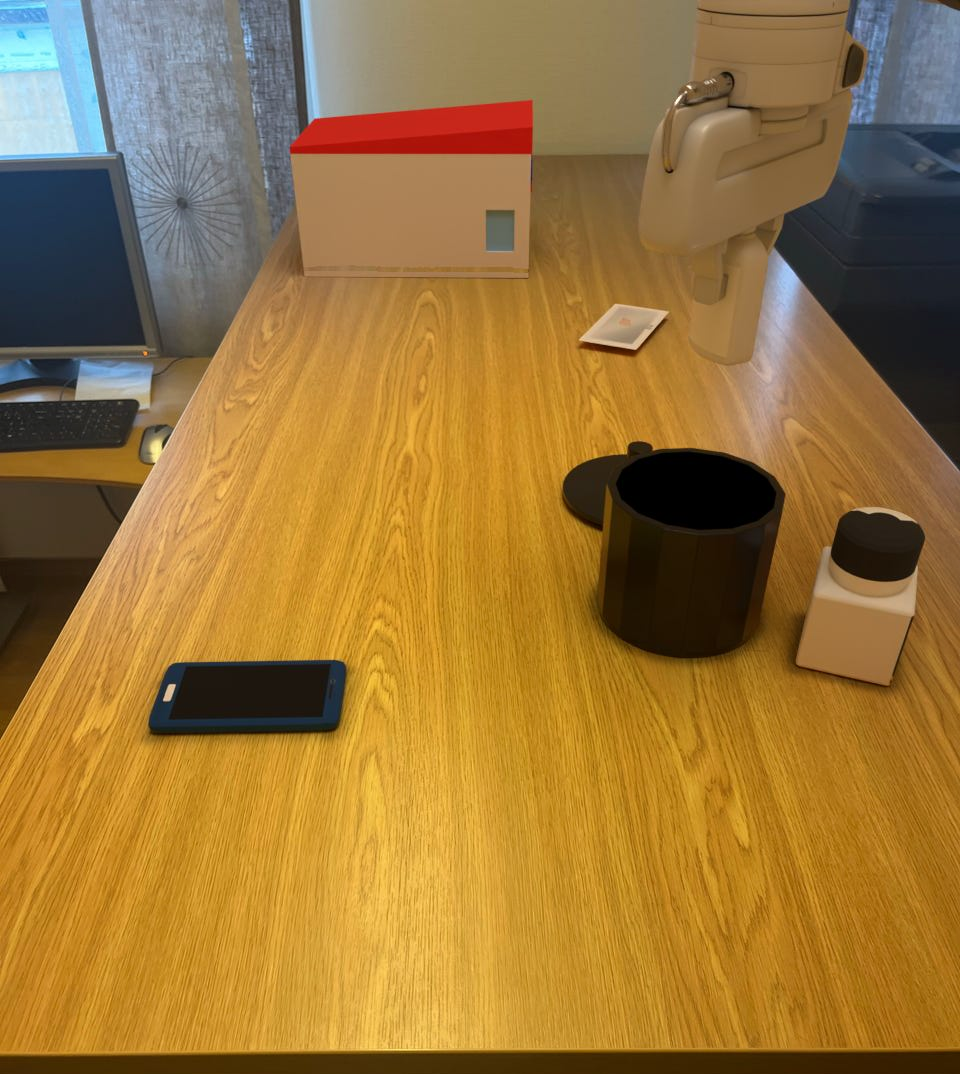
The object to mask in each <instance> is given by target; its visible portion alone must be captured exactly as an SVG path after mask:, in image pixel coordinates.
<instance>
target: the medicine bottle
mask: <svg viewBox="0 0 960 1074" xmlns="http://www.w3.org/2000/svg"><path fill="white" fill-rule="evenodd" d="M925 541H926V533H925V531H924V530H923V528H922V526H921V525H920V523H918V522H917V521H916V519H914V518H912V517H911V516H910V515H907V514H905V513H902V512H900V511H897V510H894V509H890V508H885V507H878V506H863V507H858V508H854V509H850V510H849V511H847V512H846V513H845V514H843V515H841V516H840V517H839V519H838V522H837V526H836V529H835V534H834V537H833V541H832V545H831V546H830V545H829V546H828V545H826V546H823V548H822V550H821V553H820V557H819V561H818V565H817V569H816V573H815V576H814V582H813V585H812V589H811V593H810V597H809V601H808V604H807V608H806V613H805V617H804V621H803V626H802V630H801V636H800V639H799V644H798V647H797V653H796V657H795V664H796V665H797V666H798V667H800V668H801V667H802V668H806V669H811V670H815V671H819V672H822V673H829V674H832V675H837V676H841V677H846V678H851V679H855V680H859V681H863V682H868V683H873V684H875V685H876V684H877V685H882V686H890V685H891V684H892V683H893V679H894V677H895V674H896V670H897V668H898V666H899V662H900V659H901V657H902V656H901V655H902V653H903V650H904V648H905V644H906V641H907V639H908V636H909V632H910V629H911V626H912V623H913V620H914V618H915V615H916V602H917V601H916V600H917V589H918V588H917V587H918V574H919V565H918V562H919V560H920V556H921V554H922V550H923V547H924V546H925V545H924V544H925Z"/></svg>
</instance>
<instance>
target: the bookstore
mask: <svg viewBox="0 0 960 1074" xmlns="http://www.w3.org/2000/svg"><path fill="white" fill-rule="evenodd" d="M533 103H534V102H533V99H529V100H528V99H527V100H517V101H515V100H514V101H503V102H492V103H491V102H490V103H480V104H469V105H458V106H457V105H456V106H447V107H434V108H433V107H432V108H422V109H410V110H399V111H387V112H385V111H384V112H375V113H364V114H363V113H362V114H353V115H340V116H328V117H327V116H326V117H316V118H314V119H312V121H311V122H310V123H309V124H307V126H306V127H305V129H304V130H303V131H302V132H301V133H300V134H299V135H298V137H297V138H295V140H294V141H293V142H292V144H291V145H290V146H289V156H290V163H291V164H290V165H291V172H292V173H291V174H292V181H293V191H294V197H295V198H294V199H295V207H296V215H297V224H298V231H299V233H298V234H299V240H300V241H299V243H300V251H301V259H302V266H303V267H317V266H342V265H344V266H346V265H356V266H375V267H378V266H380V267H403V268H404V267H409V268H414V267H415V268H419V267H422V268H424V267H513V268H523V269H529V266H530V230H531V229H530V227H531V193H533V179H534V178H533V146H534V145H533V143H534V141H533V140H534V105H533ZM303 267H302V268H303ZM303 275H304V277H305V278H306V277H307V278H309V277H310V278H321V277H322V278H449V279H451V278H453V279H454V278H458V279H460V278H461V279H462V278H464V279H467V278H468V279H471V278H472V279H475V278H477V279H478V278H479V279H480V278H481V279H484V278H485V279H487V278H488V279H529V272H528V273H514V272H378V271H304V270H303Z"/></svg>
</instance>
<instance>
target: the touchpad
mask: <svg viewBox="0 0 960 1074" xmlns="http://www.w3.org/2000/svg"><path fill="white" fill-rule="evenodd" d="M669 313H670V311H669V310H661V309H656V308H648V307H641V306H635V305H627V304H622V303H621V304H620V303H614V304H613V305H612V306H611V307H610V308H609V309H608V310H607V311H606V312H605V313H604V314H603V315H602V316H601V317H600V318H599V319H598V320H597V321H596V322H595V323H594V324H593V325H592V326H591V327H590V328H589V329H588V330H587V331H586V332H584V334H583V335H582V336H581V337H579V339H578V342H579V341H580V342H586V343H592V344H596V345H597V344H598V345H604V346H608V347H609V346H610V347H616V348H621V349H628V350H633V351H635V350H636V351H637V349H638V348H640V346H641V345H642V344H643V343H644V342H645V340H646V339H647V338H648V337H649V336H650V335H651V334H652V333H653V331H654V330H655V329H656V328H657V326H659V324H660V323H662V321H663V320H664V319H665V318H666V317H667V316H668V314H669Z"/></svg>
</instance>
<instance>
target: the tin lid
mask: <svg viewBox="0 0 960 1074" xmlns="http://www.w3.org/2000/svg"><path fill="white" fill-rule="evenodd" d="M653 450H654V447H653V445H652V444H651V443H649V442H646V441H642V440H637V441H632V442H629V443H628V445H627V449H626V453H620V454H609V455H603V456H599V457H595V458H590V459H589V460H586V461H584V462H581V463H579V464H577V465H576V466H574V467H573V468H572V469H570V471H569V472H568V473H567V474H566V475H565V477H564V479H563V481H562V489H561V490H562V496H563V500H564V501H565V503H566V504H567V506H568V507H569V508H570V509H571V510H572V511H573V512H574V513H575V514H577V515H578V516H580V517H581V518H583V519H585V520H587V521H589V522H592V523H594V524H597V525H599V526H602V527H603V521H604V510H605V498H606V486H607V482H608V480H609V477H610V475H611V473H612V471H613V469H614V468H615V467H616V466H618V465H619V464H621V463H622V462H624V461H626V460H627V459H629V458H630V457H632V456H634V455H638V454H642V453H646V452H650V451H653Z"/></svg>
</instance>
